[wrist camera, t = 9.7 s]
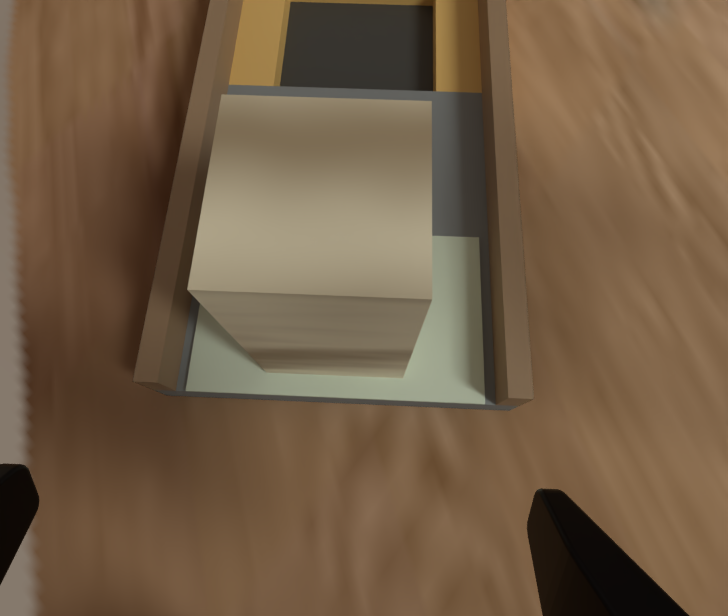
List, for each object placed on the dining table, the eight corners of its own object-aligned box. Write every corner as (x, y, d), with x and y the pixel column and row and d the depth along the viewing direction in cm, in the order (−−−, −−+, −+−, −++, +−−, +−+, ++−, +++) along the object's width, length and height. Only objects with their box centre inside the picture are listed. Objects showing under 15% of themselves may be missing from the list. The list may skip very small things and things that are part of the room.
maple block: (403, 378, 21) (432, 299, 12) (266, 372, 21) (187, 289, 12) (404, 254, 23) (431, 101, 14) (280, 249, 23) (221, 94, 14)
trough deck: (509, 410, 22) (533, 399, 19) (166, 395, 23) (132, 381, 19) (486, -13, 31) (501, -71, 28) (240, -20, 32) (225, -78, 28)
